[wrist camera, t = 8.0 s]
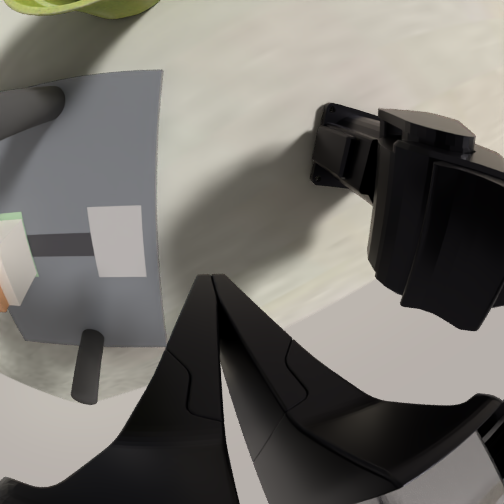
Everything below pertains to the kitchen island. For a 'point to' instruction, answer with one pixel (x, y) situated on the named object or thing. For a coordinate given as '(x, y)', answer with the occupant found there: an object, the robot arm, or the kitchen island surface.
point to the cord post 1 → (29, 108)
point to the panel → (90, 212)
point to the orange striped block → (14, 264)
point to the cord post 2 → (88, 367)
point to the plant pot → (82, 7)
